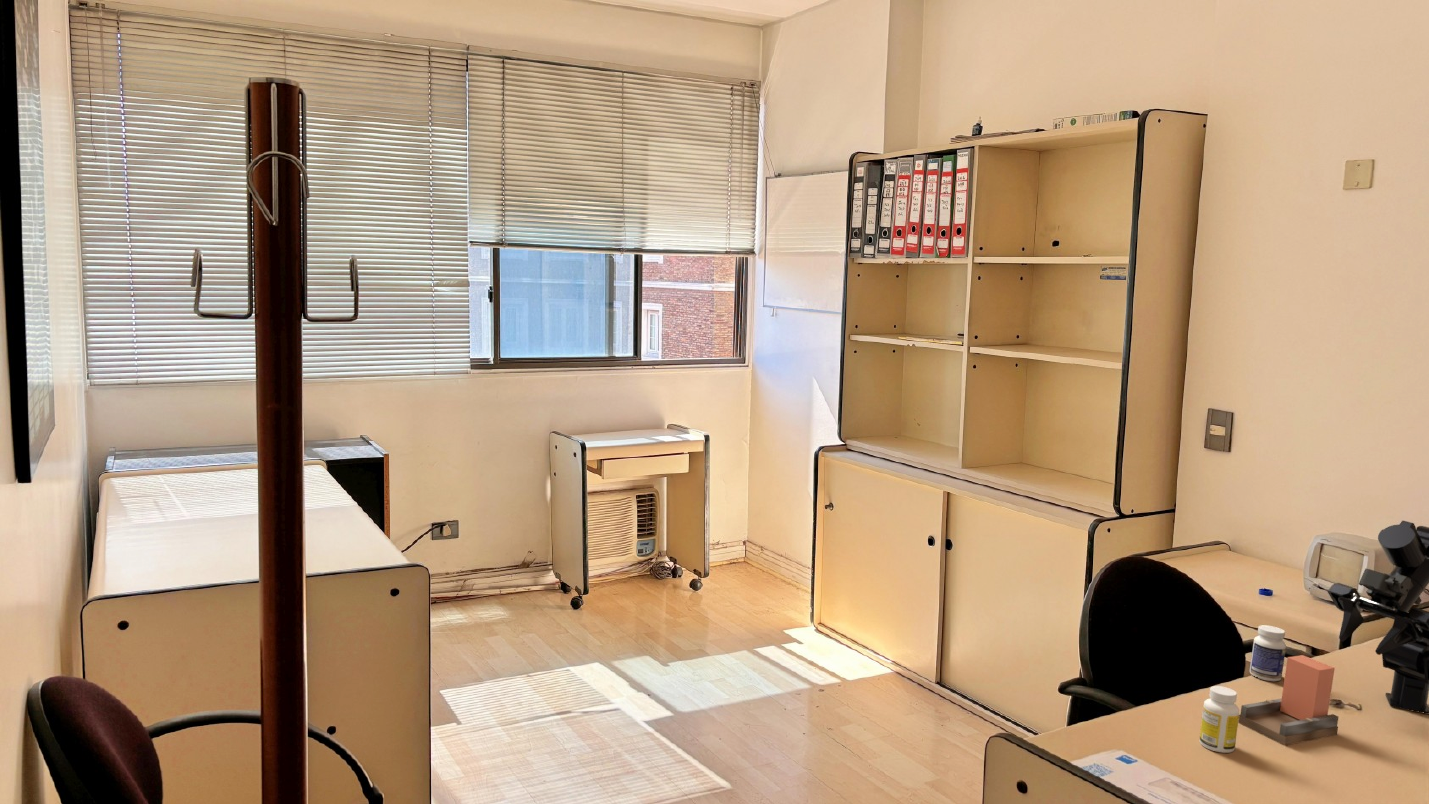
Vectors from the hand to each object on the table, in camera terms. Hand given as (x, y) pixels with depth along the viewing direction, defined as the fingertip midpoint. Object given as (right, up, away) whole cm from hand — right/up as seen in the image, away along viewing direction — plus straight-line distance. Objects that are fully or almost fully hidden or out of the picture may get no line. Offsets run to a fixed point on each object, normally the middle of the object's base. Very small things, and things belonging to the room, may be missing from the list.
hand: (1358, 646), depth 183 cm
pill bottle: (-6, -11, +19) cm, 23 cm away
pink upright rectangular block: (-12, -12, -4) cm, 17 cm away
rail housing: (-16, -13, -5) cm, 21 cm away
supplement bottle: (-32, -14, -14) cm, 38 cm away
